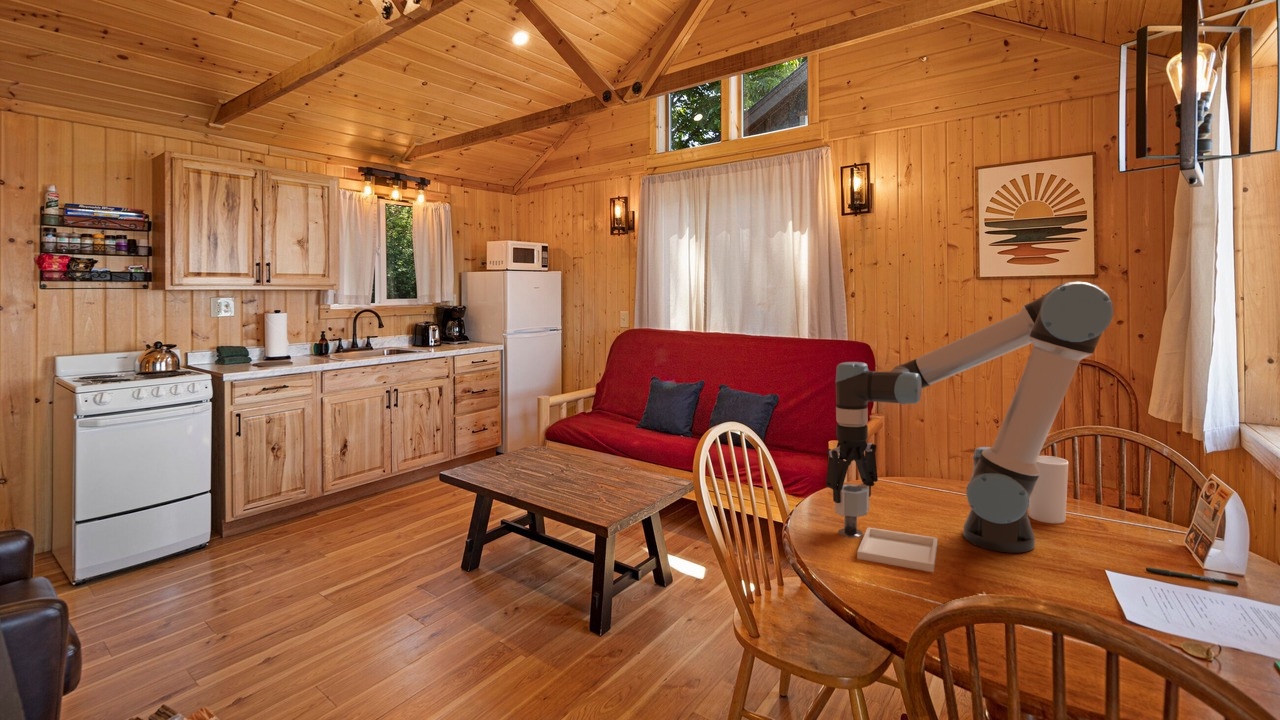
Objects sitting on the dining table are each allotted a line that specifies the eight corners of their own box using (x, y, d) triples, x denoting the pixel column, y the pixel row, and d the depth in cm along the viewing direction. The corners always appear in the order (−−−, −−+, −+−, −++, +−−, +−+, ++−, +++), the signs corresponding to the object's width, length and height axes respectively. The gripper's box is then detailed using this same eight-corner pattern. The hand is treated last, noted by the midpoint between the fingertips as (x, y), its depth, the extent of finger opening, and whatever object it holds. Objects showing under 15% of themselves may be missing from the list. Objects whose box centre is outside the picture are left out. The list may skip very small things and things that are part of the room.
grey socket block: (873, 513, 152) (873, 490, 152) (851, 518, 150) (850, 494, 149) (849, 503, 161) (849, 481, 160) (828, 507, 158) (827, 485, 157)
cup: (1071, 524, 158) (1074, 464, 156) (1036, 522, 159) (1039, 463, 158) (1056, 512, 166) (1059, 456, 164) (1023, 511, 167) (1025, 455, 166)
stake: (864, 532, 157) (865, 505, 156) (860, 540, 151) (861, 513, 151) (840, 528, 160) (840, 502, 159) (836, 536, 154) (836, 510, 154)
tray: (937, 546, 147) (937, 537, 147) (933, 574, 133) (933, 564, 133) (867, 535, 154) (867, 527, 154) (857, 560, 140) (857, 551, 140)
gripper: (872, 416, 159) (872, 501, 162) (809, 425, 152) (810, 513, 155) (893, 421, 152) (893, 510, 155) (829, 431, 145) (829, 523, 148)
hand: (852, 511), depth 155 cm, fingers closed on grey socket block, 7 cm apart
